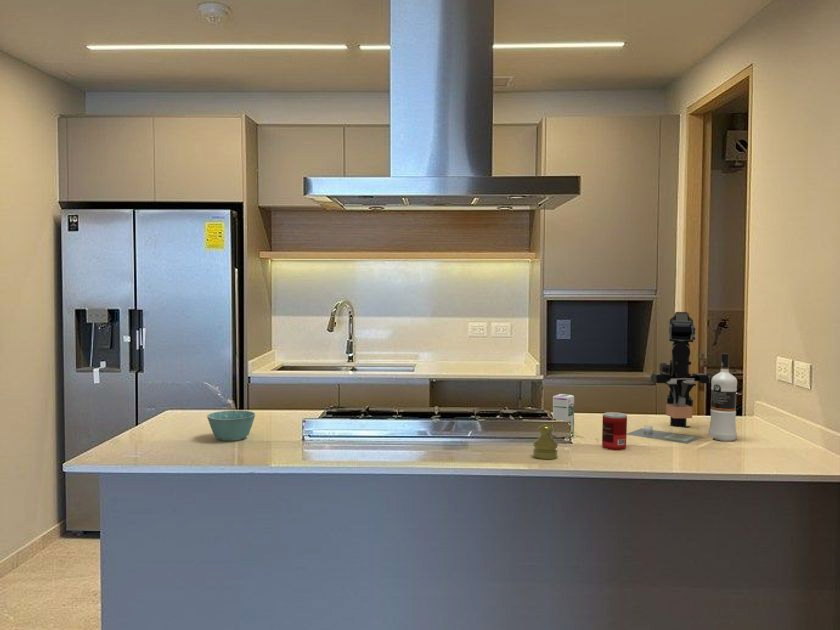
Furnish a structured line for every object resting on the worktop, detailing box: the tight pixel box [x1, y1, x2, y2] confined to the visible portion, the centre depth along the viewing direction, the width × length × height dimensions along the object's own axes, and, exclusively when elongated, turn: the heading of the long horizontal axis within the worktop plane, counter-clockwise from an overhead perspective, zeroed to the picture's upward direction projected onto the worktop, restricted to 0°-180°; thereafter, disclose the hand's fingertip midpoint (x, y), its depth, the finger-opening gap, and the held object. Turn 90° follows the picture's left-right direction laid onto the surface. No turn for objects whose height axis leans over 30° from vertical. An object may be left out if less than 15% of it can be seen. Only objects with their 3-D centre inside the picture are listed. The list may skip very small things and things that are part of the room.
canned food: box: [601, 411, 628, 451], centre depth 243 cm, size 8×8×11 cm
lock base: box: [627, 425, 703, 445], centre depth 258 cm, size 14×22×4 cm, turn 50°
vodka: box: [707, 352, 738, 442], centre depth 258 cm, size 9×9×30 cm
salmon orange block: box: [665, 396, 694, 419], centre depth 254 cm, size 6×6×7 cm
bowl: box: [206, 409, 256, 442], centre depth 249 cm, size 16×16×8 cm
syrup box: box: [552, 393, 575, 437], centre depth 260 cm, size 6×6×14 cm
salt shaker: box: [532, 424, 559, 460], centre depth 229 cm, size 7×7×10 cm
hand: (679, 403), depth 254 cm, fingers closed on salmon orange block
